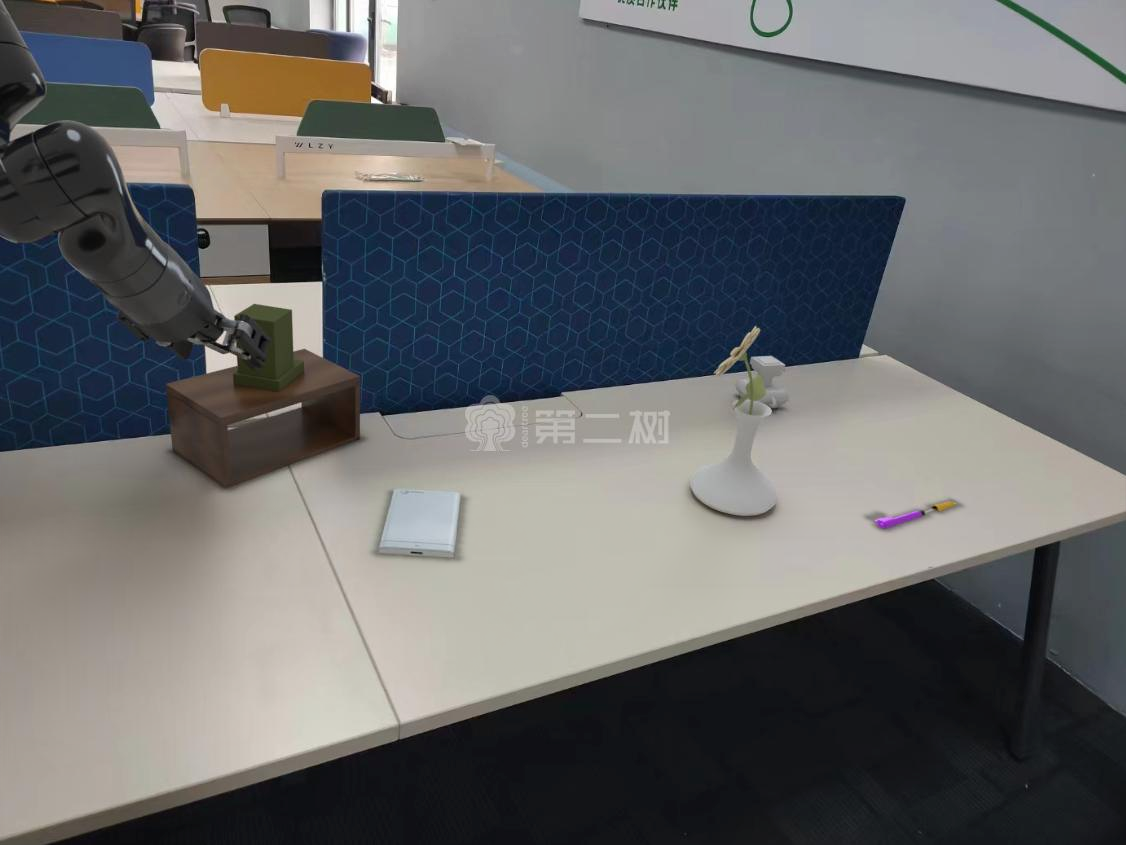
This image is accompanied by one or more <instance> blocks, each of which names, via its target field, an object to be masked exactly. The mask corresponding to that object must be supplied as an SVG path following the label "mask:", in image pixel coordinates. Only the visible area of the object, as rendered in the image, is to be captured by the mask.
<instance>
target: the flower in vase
mask: <svg viewBox="0 0 1126 845" xmlns="http://www.w3.org/2000/svg"><path fill="white" fill-rule="evenodd" d="M760 332H761V329H760V327H757V325H755V326H754V327H753V328H752V330H751V332H750V331H749V332H748V333H746V335H745V336H744V338H743V340H742V342H741V343H740V346H737V347H734V348H733V349H732V350H731V352H730V353H729V354H730V357H728V358H726V359H725V360H724V361H722V362H721V363H720V364H719V365H718V366H717V369H716V370H715V371H714V372H713V374H714V375H715V376H717V377H718V378H719V377H721V376H722V375H723V374H725V373H726V372H727V371H728V370H729V369H731V368H732V366H734V365H735V363H736V362H737V361H739V362H740V361H742V362H743V361H744V364H745V366H746V371H747V374H748V379H750V382H749V383H748V384H747V385H746V391H747V394H745V395H744V396H743V397H742V398H741V397H740V398H739V399H736V400H733V401H732V403H731V407H732V410H733V411H734V413H735V417H736V434H735V439H734V440H735V441H734V444H733V448H732V450H731V453H730V454H729V455H728V456H727V457H724V458H722V459H720V460H716V461H714V462H711V463H708V464H706V465H704V466H703V467H701V468H699V469H698V470H696V471H695V473H694V474H693V475H692V476H691V479H690V482H689V484H690V489H691V490H692V493H693V494H694V496H695V497H696V498H697V499H698V500H699V501H700V502H701V503H703V504H704V505H706V506H707V507H709V508H711V509H714V510H716V511H718V512H721V513H725V514H729V515H733V516H743V517H751V516H758V515H762V514H765V513H767V512H768V511H769V510H771V509H772V508H773V507H774V506H775V505H776V503H777V493H776V489H775V487H774V485H773V483H771V482H770V480H769V478H768V477H767V476H766V475H765V474H764V473H763V471H761V470H760V469H759V468H757V466H756V465H755V464H754V462H753V461H752V448H753V444H754V440H755V437H756V435H757V432H758V430H759V428H760V426H761V424H762V423H763V422H764V420H766V419H767V418H768V417H769V416H770V415H771V414H772V413H773V411H772V408H769V407H768V406H767V405H765V404H763V403H761V402H758V401H756V400H759V399H761V398H763V397H764V396H765V394H766V391H765V386H764V382H763V378H762V375H761V374H760V375H759V376H758V375H757V376H756V377H754V378H753V375H752V371H751V367H750V362H749V360H748V358H747V356H748V354H747V350H748V349H749V348H750V347H751V345H752V344H753V343H754V342H755V341H756V339H757V337H758V336H759V335H760ZM752 379H753V380H752ZM748 397H749V398H750V400H748V399H747V398H748Z"/></svg>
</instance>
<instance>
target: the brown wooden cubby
mask: <svg viewBox="0 0 1126 845" xmlns="http://www.w3.org/2000/svg"><path fill="white" fill-rule="evenodd" d="M293 356H294V359H296V360H302V361H304V372H303V373H301V374H300V375H299V376H298V377H297V378H295V379H294V380H293V381H292V382H291V383H290V384H288V385H287V386H286V387H285V388H284V389H283V390H281V391H280V392H275V391H269V390H263V389H258V388H252V387H246V386H240V385H234V383H233V373H234V372H236V371H237V370H238V367H237V365H235V366H229V367H227V368H222V369H220V370H215V371H211V372H208V373H203V374H200V375H196V376H195V375H194V376H191V377H188V378H183V379H179V380H176V381H172V382H168V383H165V392H166V402H167V411H168V418H169V419H168V420H169V429H170V430H169V431H170V438H171V439H170V440H171V448H172V452H173V453H174V454H176V455H177V456H178V457H180V458H181V459H182V460H184V461H186V463H188V464H190V465H192V466H193V467H194V468H195V469H196V470H199V471H200V472H201V473H203V474H204V475H206V476H207V477H208V478H210V479H211V480H212V481H214V482H215V483H217V484H219V485H220V486H222V487H223V488H224V489H229V488H231V487H234V486H238V485H239V484H242V483H245V482H247V481H250V480H253V479H256V478H259V477H261V476H264V475H266V474H270V473H273V472H274V471H275V472H276V471H278V470H281V469H283V468H286V467H288V466H291V465H294V464H297V463H300V462H302V461H306V460H308V459H310V458H312V457H316V456H318V455H321V454H323V453H327V452H329V451H332V450H335V449H338V448H340V447H343V446H346V445H349V444H351V443H353V442H357V441H359V440H360V439H361V376H360V375H359V374H357V373H355V372H352V371H351V370H348V369H346V368H344V367H342V366H341V365H338V364H336V363H334V362H333V361H331V360H328V359H326V358H324V357H323V356H320V355H318V354H316V353H314V352H312V351H311V350H308V349H306V348H301V349H297V350H293ZM299 404H301V406H300V407H298V408H294V409H291V410H288V411H285V412H281V413H279V414H275V415H272V416H269V417H265V418H263V419H259V420H256V421H253V422H250V423H246V424H244V425H240V426H237V427H233V428H230V429H229V428H228V426H230V425H234V424H237V423H240V422H242V421H243V422H244V421H246V420H250V419H253V418H255V417H258V416H262V415H265V414H269V413H272V412H276V411H279V410H282V409H284V408H287V407H292V406H294V405H299Z"/></svg>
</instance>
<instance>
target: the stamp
mask: <svg viewBox="0 0 1126 845" xmlns="http://www.w3.org/2000/svg"><path fill="white" fill-rule="evenodd" d="M749 365H751V369H752V370H754V371H755V372H756V373H757V376H759V375H760V374H761V375H762V378H763V382H764V386H765V391H766V394H765V396H764V397H763V398H761V399H759V400H756V401H758V402H761V403H763V404H765V405H767V406H768V407H769V408H770V409H778V408H779V407H781V406H783V405H785V404H787V402H789V401H790V395H789V393H788V392H787V390H785V389H784V388H782V387H781V386H780V385H779V384H778V383H776V382H775V381H774V380H773V379H774V378H775V377H781V376H782V374H783V372H784V373H785V372H786V364H785V363H783V362H782V361H780V360H779V359H777V358H776V357H774V356H773V355H764V356H763V355H762V356H760V355H759V356H751V357H750V360H749ZM753 379H754V378H752V380H753ZM749 382H750V379H749V378H740V379H738V380H737V381H735V384H734V387H735V389H736V391H737V393H738V395H739V397H740V399H741V398H742V397H743V396H744V395H745V394H747V391H746V385H747V384H748V383H749ZM747 399H748V400H750V398H749V397H748V398H747Z"/></svg>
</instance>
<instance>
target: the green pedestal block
mask: <svg viewBox="0 0 1126 845" xmlns="http://www.w3.org/2000/svg"><path fill="white" fill-rule="evenodd" d="M240 314H245V315H248V316H250V317H251V318H252V319H253V320H254V321H255V322H256V323H257V325H258V326H259V327H260V328H261V329H262V330H263V331H264V332H265V333H266V334H267V335H268V336H269V337H270V338H271V340H270V343H269V346H268V349H267V353H266V360H265V363H264V366H263V368H261V369H260V371H252V370H251V369H250V368H249V367H248V366H247V365H246V364H245V362H244V361H243V360H242V359H241V358H240V357H238V356H236V364H237V365H236V366H237V367H238V370H237V371H236V372H234V373H233V383H234V385H240V386H246V387H252V388H258V389H263V390H269V391H275V392H280V391H281V390H283V389H284V388H285V387H286V386H287V385H288V384H290V383H291V382H292V381H293V380H294V379H295V378H297V377H298V376H299V375H300V374H301V373H303V372H304V361H302V360H296V359H294V356H293V351H294V332H293V330H294V328H293V326H294V325H293V309H292V308H291V309H290V308H285V307H284V308H283V307H277V306H271V305H265V304H258V303H253V304H252V305H249V306H248V307H246V308H244V309H243V310H241V311H239V312H238V313H236V314H235V315H234V316H233V318H234V319H233V320H234V321H238V318H239V315H240ZM235 346H236V347H237V348H239V349H242V346H241V345H240V344H239V343H238V342H235Z"/></svg>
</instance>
